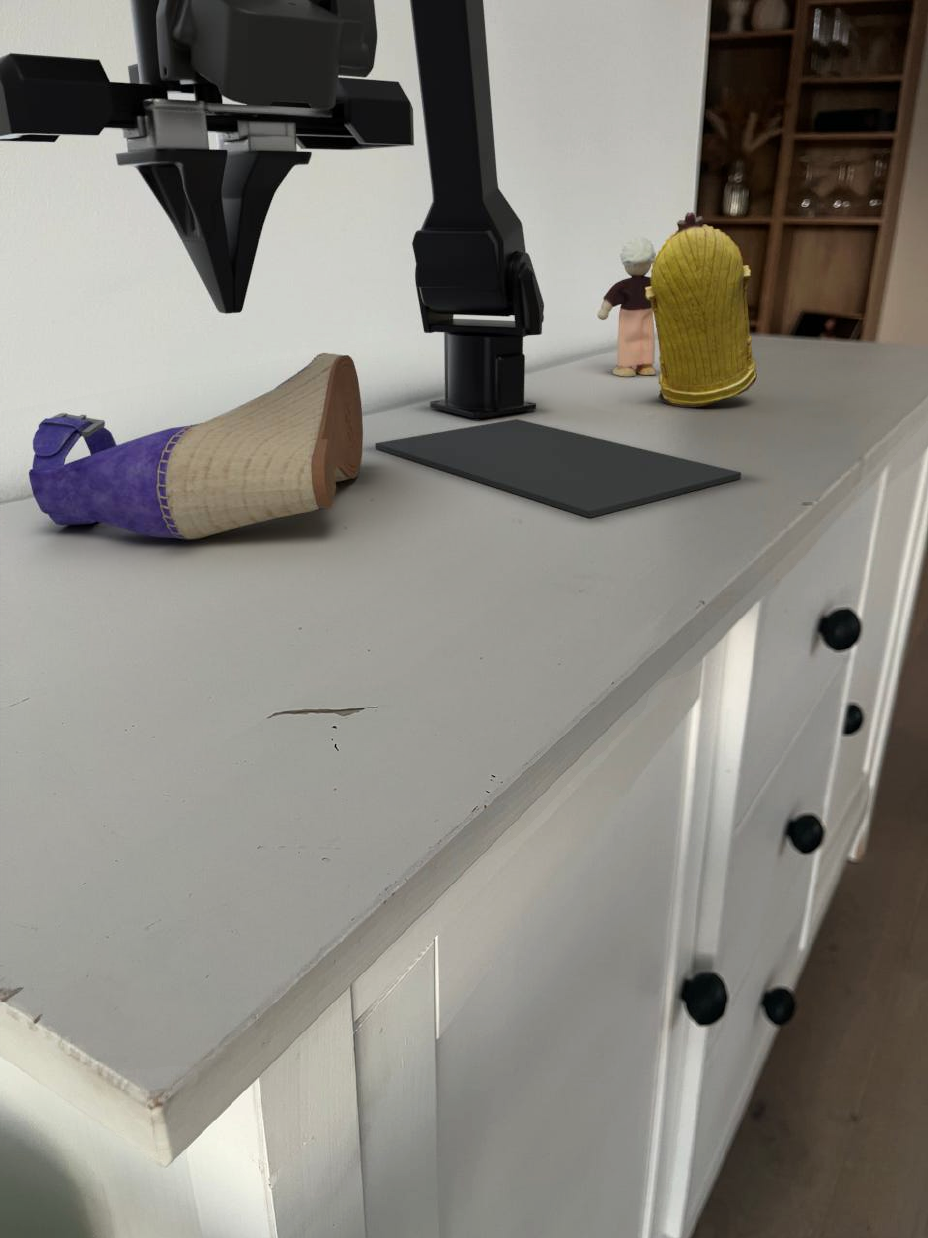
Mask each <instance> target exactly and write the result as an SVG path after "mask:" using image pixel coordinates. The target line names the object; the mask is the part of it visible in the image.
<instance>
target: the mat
mask: <svg viewBox="0 0 928 1238" xmlns="http://www.w3.org/2000/svg"><path fill="white" fill-rule="evenodd" d="M374 443H375V442H374ZM374 447H375V449H376V450H379V451H381V452H385V453H388V454H391V455H394V456H397V457H400V458H404V459H407V460H410V461H413V462H416V463H419V464H421V465H426V466H428V467H432V468H435V469H436V470H437V469H438V470H441V471H444V472H447V473H450V474H453V475H456V476H459V477H462V478H465V479H469V480H471V481H474V482H476V483H477V482H478V483H481V484H484V485H487V486H490V487H493V488H496V489H500V490H503V491H506V492H508V493H512V494H515V495H518V496H520V497H524V498H527V499H529V500H533V501H537V502H539V503H542V504H545V505H549V506H551V507H555V508H558V509H561V510H564V511H567V512H570V513H573V514H576V515H579V516H583V517H585V518H589V519H591V518H595V517H598V516H602V515H607V514H610V513H611V514H612V513H614V512H618V511H622V510H626V509H629V508H633V507H637V506H641V505H644V504H648V503H653V502H656V501H660V500H664V499H667V498H672V497H675V496H679V495H683V494H687V493H691V492H695V491H699V490H702V489H706V488H709V487H713V486H718V485H720V484H725V483H729V482H734V481H738V480H740V479H741V478H742V472H740V471H737V470H732V469H728V468H725V467H724V468H723V467H719V466H716V465H711V464H707V463H703V462H699V461H694V460H691V459H686V458H683V457H679V456H673V455H670V454H665V453H662V452H657V451H653V450H648V449H644V448H640V447H637V446H631V445H627V444H623V443H619V442H614V441H610V440H606V439H602V438H598V437H594V436H590V435H585V434H581V433H578V432H574V431H568V430H565V429H559V428H557V427H556V428H555V427H551V426H548V425H544V424H539V423H536V422H530V421H526V420H523V419H518V418H515V419H509V420H503V421H497V422H491V423H486V424H479V425H474V426H468V427H462V428H457V429H451V430H444V431H438V432H432V433H427V434H426V433H425V434H422V435H416V436H410V437H403V438H398V439H397V438H396V439H391V440H386V441H380V442H376V443H375V444H374Z"/></svg>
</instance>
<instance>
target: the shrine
mask: <svg viewBox="0 0 928 1238" xmlns="http://www.w3.org/2000/svg"><path fill="white" fill-rule="evenodd" d="M704 220H705V218H704V216H702V215H700V216H699V215H698V216H696V215H695V213H694V212H693V211H691V212H686V213H685V216H684V219H679V220H678V221H677V222H676V225H677V230H676V231H675V232H674V233H671V235H670V236H669V238H666V239H665V243H664V244H663V245H662V246H661V249H659V250H658V252H657V254H656V256H655V262H653V263H652V264H651V267H652V268H650V272H651V274H650V277H651V278H650V279H651V286H649V287H645V290H646V294H645V297H646V299H647V300H649V301H651V306H652V307H651V308H652V310H653V318H654V324H655V329H656V334H657V341H658V350H659V357H658V360H659V363H660V364H659V367H660V368H659V369H660V372H661V373H660V374H659V376H658V384H659V385H660V390H659V395H658V397H659V398H658V399H659V400H660V401H661V402H662V403H665V404H667V405H671V406H676V407H679V408H698V407H703V406H709V405H713V404H716V403H717V402H720V401H721V400H723V399H728V398H731V397H734V396H739V395H741V394H743V393H745V392H748V391H749V389H750V388H751V387H752V386H753V385H754V384H755V382H756V380H757V370H756V363H755V358H754V356H753V348H752V345H751V343H752V336H751V335H750V334H751V333H750V329H751V328H750V327H751V326H750V320H749V319H750V318H749V308H748V307H749V306H748V297H747V294H748V293H747V292H748V291H747V290H748V282H749V281H750V278H751V275H752V270H751V268H750V266H749V265H744V262H743V260H744V259H743V256H742V253H741V251H740V249H739V246H738V245H737V244H736V243H735V242H734V241H733V240H732V239H731V237H730V236H729V235H727V234H726V233H725V231H722V230H721V229H719V228H716V229H715V228H714V226H712V225H711V226H710V225H708V224H703V223H704Z"/></svg>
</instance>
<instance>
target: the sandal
mask: <svg viewBox="0 0 928 1238" xmlns="http://www.w3.org/2000/svg"><path fill="white" fill-rule="evenodd" d="M363 424H364V423H363V407H362V398H361V390H360V382H359V377H358V372H357V368H356V365H355V361H354V360H353V358H352V357H351V356H350V355H349V354H343V355H342V354H338V353H328V352H322V353H319V354H317V355H316V356H315V357H314V358H313V359H311V362H308V364H307V365H306V366H304V367H302V369H300V370H298V371H297V372H296V373H295V374H293V375H292V376H290V377H288V379H286V380H285V381H283V382H282V383H280V384H278V385H277V386H276V387H275V388H273V389H271V390H269V391H267V392H266V393H264V394H262V395H260V396H258V397H255V398H254V399H251V400H249V401H247V402H245V403H243V404H241V405H239V406H236V407H235V408H232V409H230V410H228V411H226V412H224V413H222V414H219V415H217V416H215V417H213V418H211V419H208V420H207V421H204V422H201V423H195V424H189V425H184V426H176V427H170V428H166V429H163V430H158V431H156V432H152V433H150V434H147V435H143V436H140V437H137V438H134V439H132V440H129V441H126V442H125V441H124V442H123V443H119V444H117V442H116V440H115V438H114V436H113V434H112V432H111V431H110V430H109V429H107V428H106V427H105V425H106V421H105V420H104V419H97V418H91V417H87V414H80V415H74V414H69V413H67V412H60V413H58V414H56V415H53V416H52V417H49V418H47V417H46V418H44V419H42V420H41V422H40V423H39V424H38V429H37V430H36V431H35V433H34V437H33V439H32V450H33V453H34V455H33V461H32V468H31V469H29V471H28V477H29V483H30V487H31V491H32V495H33V497H34V499H35V501H36V503H37V505H38V507H39V509H40V511H41V512H42V513H43V514H45V515H48V517H49V518H50V519H51V521H53V522H54V524H55V525H58V526H79V525H90V524H95V523H96V522H98V523H102V524H105V525H109V526H113V527H116V528H119V529H122V530H126V531H128V532H132V533H136V534H141V535H145V536H149V537H156V538H168V539H182V540H186V541H190V540H199V539H203V538H207V537H210V536H214V535H216V534H220V533H223V532H227V531H230V530H234V529H237V528H241V527H242V528H243V527H245V526H249V525H254V524H257V523H262V522H266V521H269V520H274V519H277V518H282V517H288V516H294V515H299V514H304V513H310V512H313V511H317V510H320V508H321V509H323V508H324V509H325V508H332V506H333V502H334V499H335V495H336V490H337V482H338V483H339V482H342V481H346V480H350V479H351V480H352V479H353V480H354V479H355V478H357V476H358V475H359V472H360V468H361V464H362V457H363V445H364V443H363V442H364V425H363ZM81 438H83V439H84V442H85V444H86V446H87V448H88V451H89V454H90V455H87V456H84V457H81V458H79V459H78V458H77V459H76V460H73V461H71V462H67V463H66V458H67V457H68V455H69V453H70V452H71V451H72V449H73V448H74V447H75V445H76V444H77V442H78V441H79V440H80V439H81Z"/></svg>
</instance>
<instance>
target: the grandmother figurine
mask: <svg viewBox="0 0 928 1238" xmlns="http://www.w3.org/2000/svg"><path fill="white" fill-rule="evenodd" d="M619 256H620V261H621V263H622V265H623V267H624V270H625V272H626V273H627V275H629V276H630V277H628V278H623V279H621V280H619V281H617V282H616V283H614V284H613V285H612V286H611V287H610V288H609V290H608V291H607V292H606V294H605V295H604V296H603V299H602V300H603V301H602V303H601V305H600V309H599V310H598V311H597V318H598V319H599V320H600V321H606V320H607V319H608V318H609V315H610V314H609V313H610V312H611V311H612V309H613V308H614V307H617V306H620V307H619V312H618V329H617V343H616V344H617V348H616V350H617V351H616V352H617V353H616V355H617V356H616V357H617V358H616V359H617V360H616V361H617V366H615V368H613V371H612V375H614V376H619V377H625V378H626V377H628V378H629V377H635V376H637V374H638V375H642V376H655V375H656V374H657V372H656V368H655V367H654V365H653V364H655V354H656V353H655V352H656V338H655V337H656V335H655V319H654V313H653V310H652V308H651V307H652V306H651V301H649V300H647V299H646V297H645V294H646V290H645V287H649V286H651V279H650V278H651V276H647V274H648V273H649V272H650V271H651V269H652V268H651V267H652V264H653V262H655V257H656V256H657V252H656V250H655V248H654V244H653V243H652V242H651V240H649V239H648V238H645V237H636V238H633V239H630V241H628V242H626V243H625V245H623V247H622V250H621V252H620V255H619ZM633 367H636V368H635V369H634V368H633Z"/></svg>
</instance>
